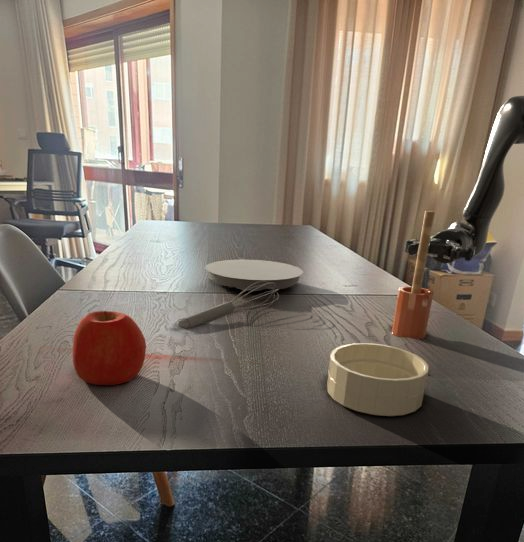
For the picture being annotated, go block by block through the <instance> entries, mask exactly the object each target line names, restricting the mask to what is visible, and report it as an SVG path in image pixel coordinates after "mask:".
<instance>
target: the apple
mask: <svg viewBox="0 0 524 542" xmlns="http://www.w3.org/2000/svg"><path fill="white" fill-rule="evenodd" d="M146 352H147V343H146V338H145V336H144V333H143V332H142V330H141V329H140V327H139V325H138V324H137V323H136V321H135V320H134V319H133V318H132V317H131V316H130V315H128V314H126V313H123V312H120V311H113V310H112V311H111V310H99V311H98V310H97V311H93V312H89V313H88V314H87V315H85V316H84V317H83V318H81V320H80V321H79V323H78V325H77V327H76V329H75V331H74V334H73V341H72V364H73V368H74V371H75V372H76V374H77V376H78V377H79V378H80V379H81V380H83V381H84V382H85V383H88V384H91V385H97V386H98V385H99V386H117V385H120V384H124V383H126V382H129V381H131V380H132V379H134V378H135V377H137V376H138V375H139V373H140V372H141V370H142V368H143V365H144V363H145V359H146Z"/></svg>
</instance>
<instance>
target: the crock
mask: <svg viewBox="0 0 524 542" xmlns="http://www.w3.org/2000/svg"><path fill="white" fill-rule="evenodd" d="M411 290H412V286H400V287H399V288H398V290H397V295H396V296H397V297H396V303H395V309H394V316H393V320H392V327H391V334H393V335H394V336H396V337H398V338H406V339H419V340H420V339H421V340H423V339H425V338H426V335H427V331H428V324H429V319H430V314H431V309H432V304H433V298H434V294H435V293H434V291H433V290H431V289H427V288H424V287H421V292H420V294H417V293H411Z"/></svg>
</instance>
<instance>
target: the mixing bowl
mask: <svg viewBox="0 0 524 542" xmlns="http://www.w3.org/2000/svg"><path fill="white" fill-rule="evenodd" d="M429 368H430V366H429V364H428V363H427V361H426V360H424V359H423V358H422V357H420V356H419V355H417V354H415V353H413V352H411V351H409V350H406V349H403V348H400V347H396V346H393V345H387V344H381V343H370V342H357V343H356V342H355V343H348V344H343V345H340V346H337V347H336V348H334V349H333V350H332V351H331V352H330V355H329V364H328V372H327V382H326V389H327V393H328V394H329V396H330V398H332V399H333V401H335V402H337V403H338V404H340V405H341V406H343V407H345V408H348V409H350V410H353V411H355V412H359V413H363V414H368V415H373V416H383V417H385V416H386V417H396V416H405V415H408V414H411V413H414V412H416V411H417V410H418V409H420V408H421V407H422V404H423V399H424V394H425V389H426V384H427V380H428V374H429Z"/></svg>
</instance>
